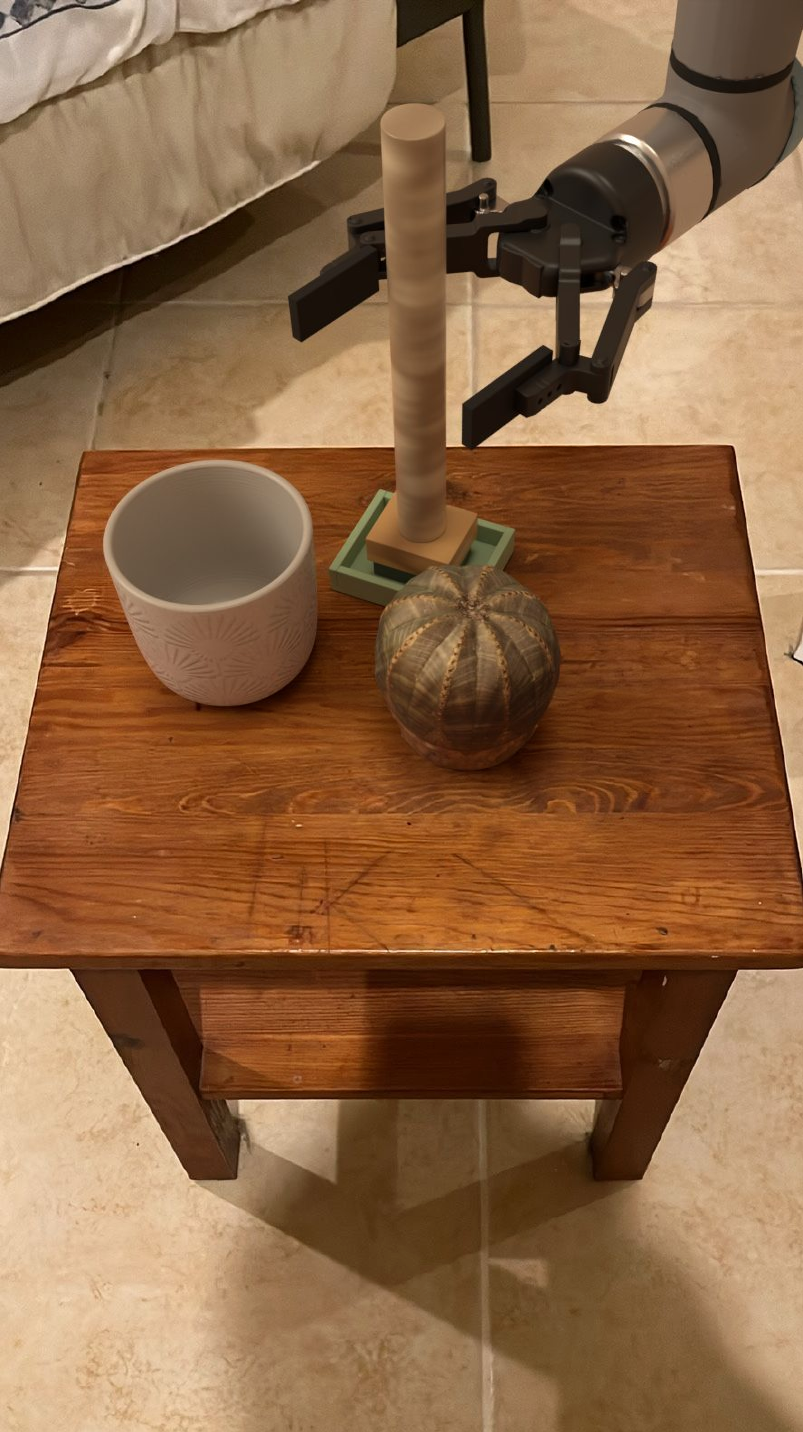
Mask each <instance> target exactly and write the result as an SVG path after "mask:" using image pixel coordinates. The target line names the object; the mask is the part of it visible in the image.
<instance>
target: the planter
mask: <svg viewBox="0 0 803 1432" xmlns="http://www.w3.org/2000/svg"><path fill="white" fill-rule="evenodd" d="M313 527H314V525H313V519H312V514H311V511H310V509H309V506H308V504H307V502H306V500H305V498H304V497H303V496H302V493H300V491H299V490H298V489H297V487H295V486H294V485H293V484H291V482H290V481H288V480H287V479H286V478H284V477H282V476H281V475H279V474H278V473H276V472H274V471H272V470H271V469H268V468H265V467H263V466H262V465H261V466H260V465H257V464H254V463H250V462H246V461H241V460H233V459H204V460H203V459H202V460H196V461H191V462H186V463H182V464H181V463H180V464H178V465H175V466H172V467H169V468H167V469H163V470H161V471H159V472H157V473H155V474H153V475H151V476H150V477H148V478H146V479H144V480H143V481H141V482H140V483H138V484H137V485H135V486H134V487H133V488H132V489H131V490H129V491H128V492H127V493H126V494H125V495H124V496H123V497H122V498H121V499H120V501H119V502H118V504H116V506H115V507H114V509H113V510H112V512H111V514H110V516H109V518H108V520H107V522H106V525H105V528H104V531H103V541H102V547H103V549H102V550H103V556H104V560H105V563H106V566H107V568H108V571H109V574H110V577H111V580H112V582H113V585H114V588H115V590H116V594H117V596H118V599H119V601H120V605H121V607H122V610H123V613H124V615H125V618H126V621H127V623H128V625H129V629H130V630H131V633H132V635H133V638H134V640H135V643H136V645H137V647H138V649H139V651H140V653H141V655H142V657H143V659H144V661H145V662H146V664H147V665H148V667H149V669H150V670H151V671H152V672H153V673H154V675H155V677H157V679H158V680H159V681H160V682H161V683H162V684H163V685H164V686H166V687H167V688H168V689H169V690H171V691H172V692H174V693H175V694H177V695H178V696H180V697H182V698H185V699H187V700H190V701H192V702H195V703H198V704H203V705H208V706H214V707H215V706H216V707H235V706H242V705H247V704H251V703H254V702H259V701H261V700H263V699H265V698H268V697H269V696H270V697H271V696H272V695H274V694H275V693H277V692H278V691H280V690H282V689H283V688H284V687H286V686H287V685H288V684H290V683H291V682H292V681H293V680H294V679H295V678H296V677H297V676H298V675H299V673H300V672H301V671H302V669H303V668H304V667H305V665H306V663H307V662H308V660H309V657H310V656H311V653H312V650H313V648H314V645H315V644H314V643H315V640H316V635H317V627H318V608H319V607H318V606H319V605H318V604H319V603H318V582H317V581H318V579H317V568H316V567H317V566H316V553H315V540H314V528H313Z"/></svg>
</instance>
